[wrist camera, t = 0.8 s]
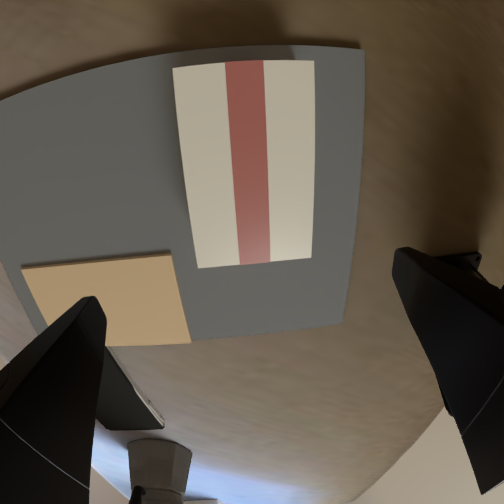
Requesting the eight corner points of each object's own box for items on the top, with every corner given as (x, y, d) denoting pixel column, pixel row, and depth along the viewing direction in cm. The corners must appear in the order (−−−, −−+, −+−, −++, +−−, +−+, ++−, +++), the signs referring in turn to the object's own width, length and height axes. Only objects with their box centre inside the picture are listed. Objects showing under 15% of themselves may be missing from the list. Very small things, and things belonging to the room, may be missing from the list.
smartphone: (103, 341, 24) (167, 429, 32) (107, 330, 25) (168, 420, 33) (34, 347, 24) (107, 430, 32) (39, 339, 25) (108, 422, 33)
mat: (360, 50, 15) (366, 49, 14) (340, 319, 26) (343, 326, 25) (-37, 118, 14) (-43, 120, 13) (44, 339, 24) (42, 345, 24)
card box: (181, 68, 15) (172, 67, 12) (295, 61, 15) (314, 60, 12) (200, 236, 20) (198, 269, 17) (297, 227, 20) (311, 258, 17)
